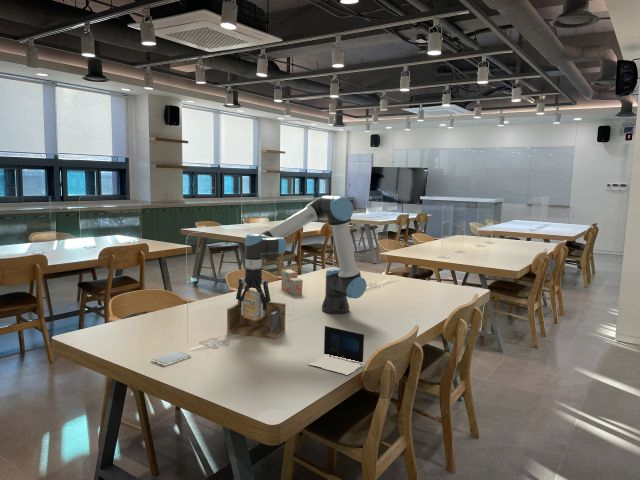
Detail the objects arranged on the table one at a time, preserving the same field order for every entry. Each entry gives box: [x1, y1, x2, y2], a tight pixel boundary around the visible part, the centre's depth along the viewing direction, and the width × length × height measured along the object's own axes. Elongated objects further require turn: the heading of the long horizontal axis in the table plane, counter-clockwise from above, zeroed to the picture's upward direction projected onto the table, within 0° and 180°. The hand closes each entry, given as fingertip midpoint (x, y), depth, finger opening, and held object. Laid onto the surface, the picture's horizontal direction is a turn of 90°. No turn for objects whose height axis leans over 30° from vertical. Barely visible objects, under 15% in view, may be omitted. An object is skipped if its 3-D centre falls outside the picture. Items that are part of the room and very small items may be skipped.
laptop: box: [323, 325, 365, 363], centre depth 184 cm, size 18×12×13 cm
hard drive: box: [152, 350, 192, 364], centre depth 186 cm, size 2×8×12 cm
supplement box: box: [244, 288, 264, 321], centre depth 219 cm, size 8×5×13 cm, turn 52°
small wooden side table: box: [226, 299, 286, 340], centre depth 221 cm, size 24×12×14 cm, turn 73°
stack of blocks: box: [280, 268, 304, 296], centre depth 304 cm, size 21×6×12 cm, turn 25°
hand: (253, 315), depth 220 cm, fingers closed on supplement box, 9 cm apart
